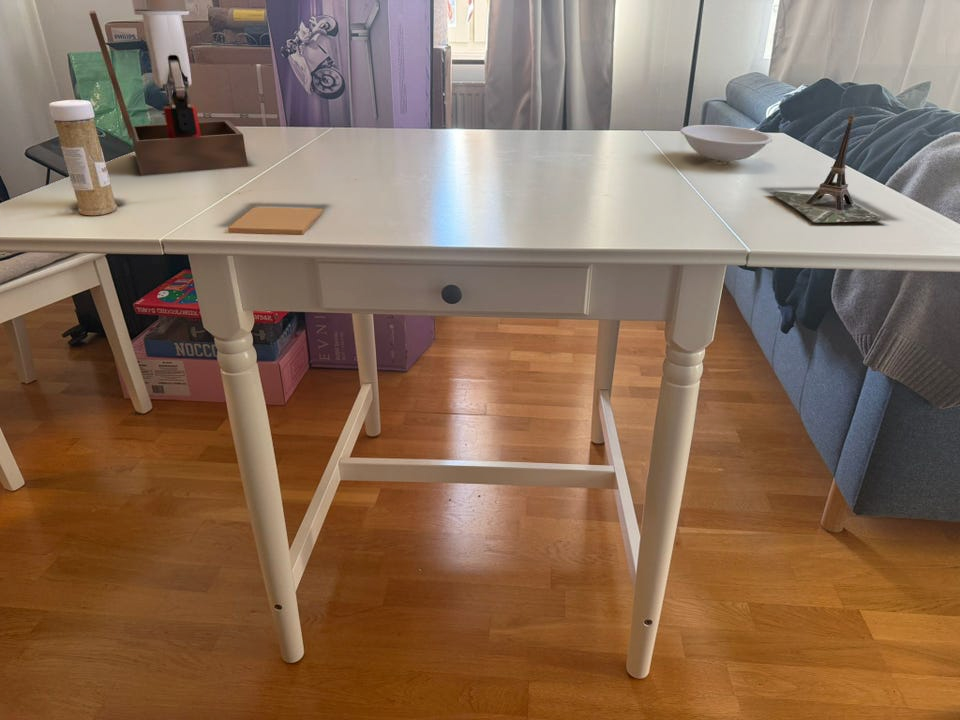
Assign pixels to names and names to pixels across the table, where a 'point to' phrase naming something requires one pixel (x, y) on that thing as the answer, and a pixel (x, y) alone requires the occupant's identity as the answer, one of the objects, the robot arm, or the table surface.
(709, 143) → the dish
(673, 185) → the table surface
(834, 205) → the eiffel tower figurine
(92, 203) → the sprinkles bottle
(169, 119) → the ketchup
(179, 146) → the wooden storage tray
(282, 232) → the trivet
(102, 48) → the lid
